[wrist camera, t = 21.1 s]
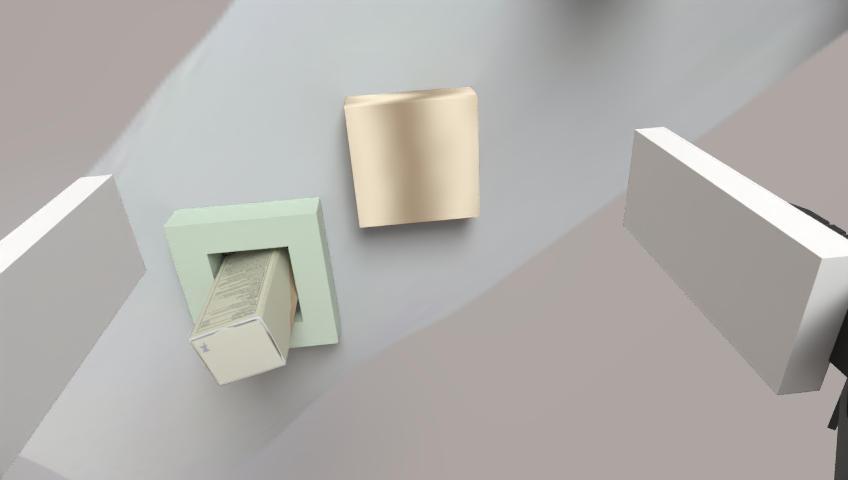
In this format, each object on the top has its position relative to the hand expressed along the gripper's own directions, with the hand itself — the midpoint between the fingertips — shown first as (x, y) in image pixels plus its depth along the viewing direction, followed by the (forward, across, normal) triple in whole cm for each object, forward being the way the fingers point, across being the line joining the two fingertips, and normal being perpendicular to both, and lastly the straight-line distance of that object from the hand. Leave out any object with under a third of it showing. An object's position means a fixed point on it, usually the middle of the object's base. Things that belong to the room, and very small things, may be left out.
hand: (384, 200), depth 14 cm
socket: (+27, +11, +17) cm, 34 cm away
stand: (+27, -2, +8) cm, 28 cm away
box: (+27, +11, +17) cm, 34 cm away
